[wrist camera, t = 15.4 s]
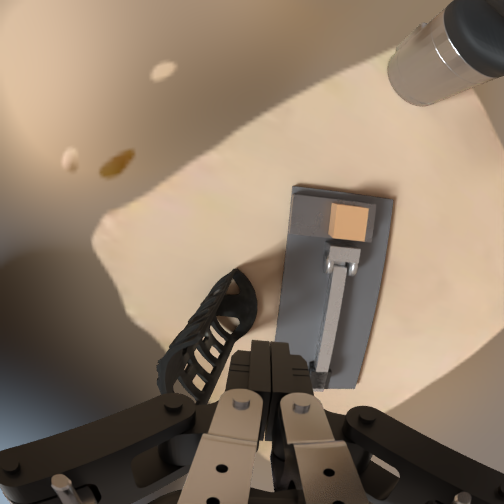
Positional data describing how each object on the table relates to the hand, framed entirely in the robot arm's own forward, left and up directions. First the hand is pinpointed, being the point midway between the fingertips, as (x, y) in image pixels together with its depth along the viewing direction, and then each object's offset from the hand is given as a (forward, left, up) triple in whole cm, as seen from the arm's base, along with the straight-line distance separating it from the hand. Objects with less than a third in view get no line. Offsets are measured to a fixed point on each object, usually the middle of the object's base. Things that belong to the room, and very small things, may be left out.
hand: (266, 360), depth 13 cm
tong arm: (+12, +10, -28) cm, 32 cm away
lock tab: (-4, +10, -28) cm, 30 cm away
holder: (+10, -5, -31) cm, 33 cm away
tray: (+8, +10, -31) cm, 34 cm away
